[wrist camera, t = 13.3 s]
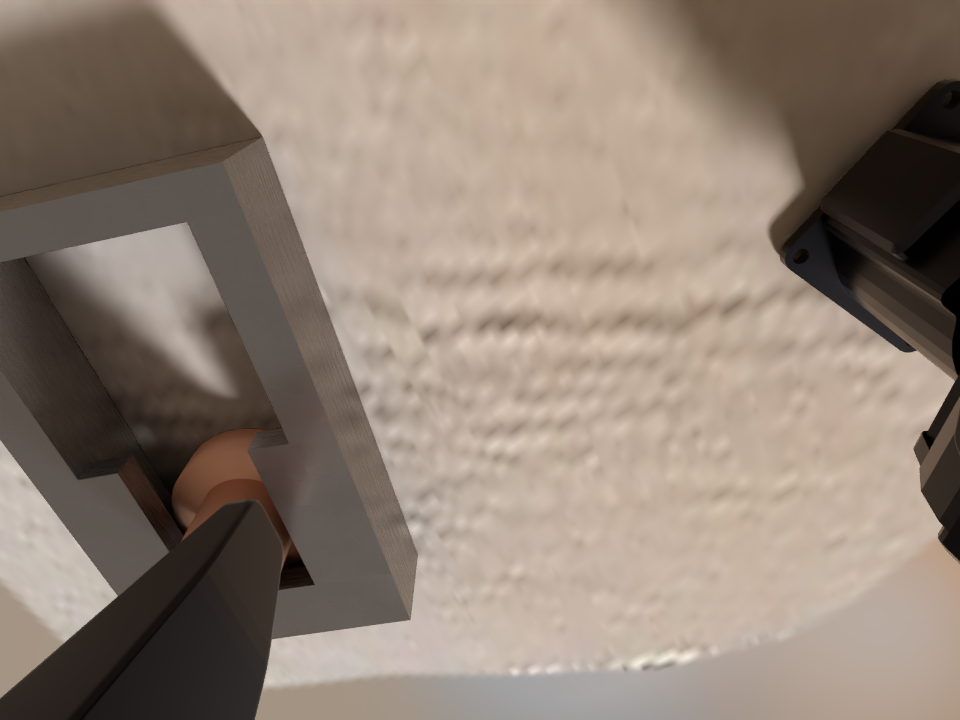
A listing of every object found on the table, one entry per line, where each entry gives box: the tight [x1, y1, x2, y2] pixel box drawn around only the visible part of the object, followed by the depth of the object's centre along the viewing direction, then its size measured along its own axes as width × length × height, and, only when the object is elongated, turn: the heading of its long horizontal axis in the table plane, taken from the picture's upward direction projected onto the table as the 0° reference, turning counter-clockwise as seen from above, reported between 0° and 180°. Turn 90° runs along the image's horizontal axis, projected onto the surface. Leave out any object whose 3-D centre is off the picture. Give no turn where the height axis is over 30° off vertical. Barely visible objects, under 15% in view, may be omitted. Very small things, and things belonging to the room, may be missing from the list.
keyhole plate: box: [0, 137, 418, 639], centre depth 22 cm, size 18×11×3 cm, turn 11°
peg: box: [172, 429, 302, 570], centre depth 20 cm, size 6×6×13 cm
